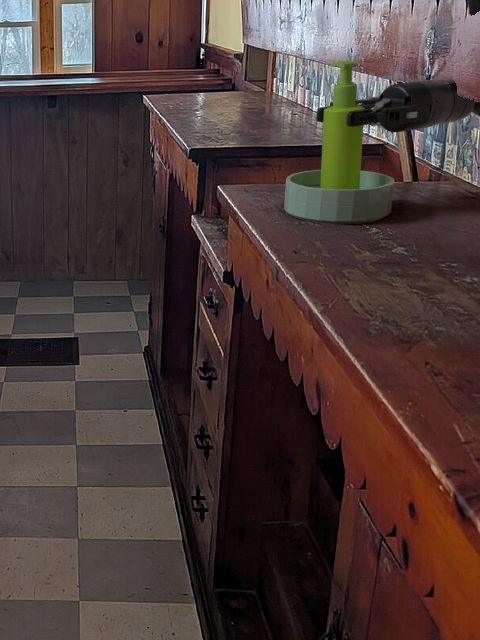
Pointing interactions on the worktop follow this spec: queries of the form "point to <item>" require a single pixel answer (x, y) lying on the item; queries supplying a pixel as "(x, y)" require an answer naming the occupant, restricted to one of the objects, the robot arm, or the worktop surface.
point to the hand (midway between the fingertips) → (333, 117)
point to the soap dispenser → (341, 135)
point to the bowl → (338, 199)
